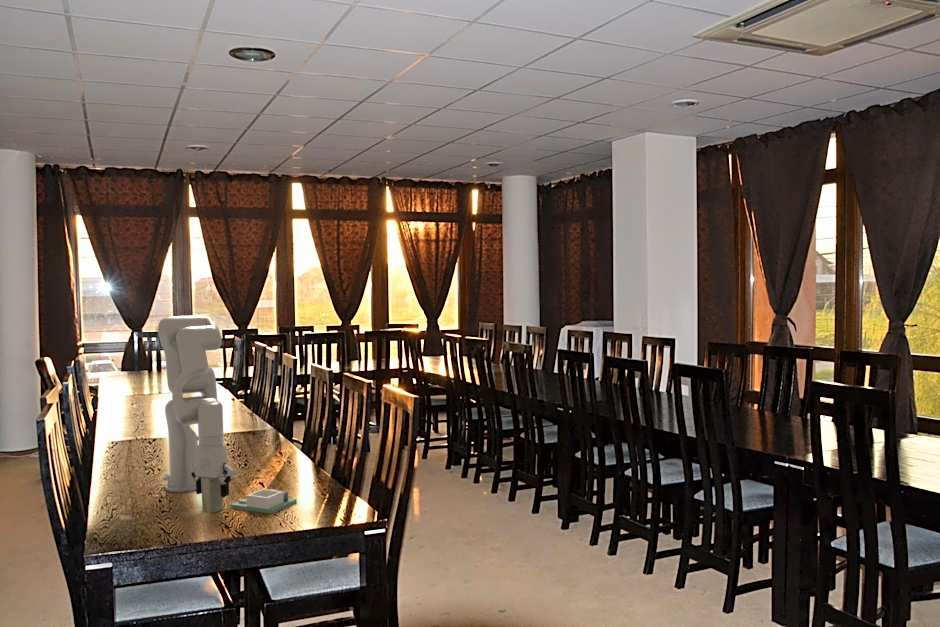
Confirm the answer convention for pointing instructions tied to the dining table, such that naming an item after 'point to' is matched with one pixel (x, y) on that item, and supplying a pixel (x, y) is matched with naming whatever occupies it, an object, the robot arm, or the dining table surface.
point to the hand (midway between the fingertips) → (212, 494)
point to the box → (211, 495)
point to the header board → (243, 506)
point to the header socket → (265, 498)
